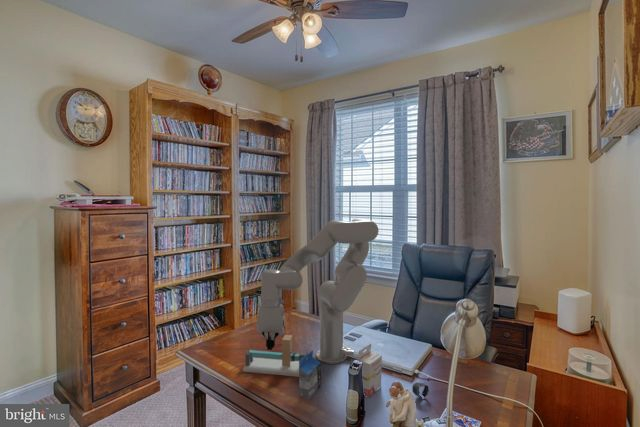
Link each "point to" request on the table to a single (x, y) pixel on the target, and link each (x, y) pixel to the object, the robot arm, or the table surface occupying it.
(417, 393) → the wristwatch
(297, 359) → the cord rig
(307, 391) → the label tape box
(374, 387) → the ink cartridge box
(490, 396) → the table surface
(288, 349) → the tan slotted box
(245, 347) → the table surface
